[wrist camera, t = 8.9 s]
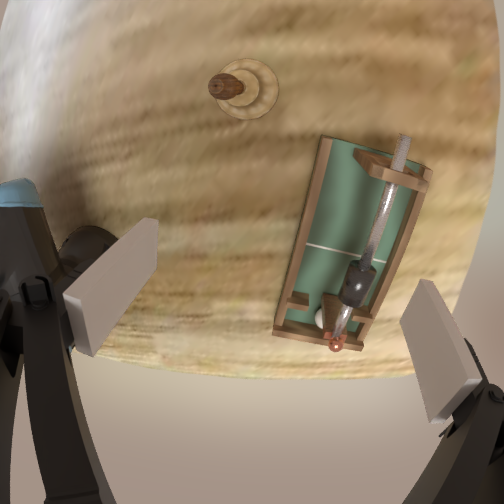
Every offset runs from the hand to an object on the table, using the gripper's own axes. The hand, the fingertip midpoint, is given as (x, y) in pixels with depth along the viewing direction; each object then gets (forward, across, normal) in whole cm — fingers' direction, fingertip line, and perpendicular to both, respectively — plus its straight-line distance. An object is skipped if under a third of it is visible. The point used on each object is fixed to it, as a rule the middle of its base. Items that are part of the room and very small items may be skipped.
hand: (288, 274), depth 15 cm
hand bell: (+29, -8, +8) cm, 31 cm away
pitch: (+29, +10, -11) cm, 32 cm away
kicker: (+27, +10, -6) cm, 30 cm away
